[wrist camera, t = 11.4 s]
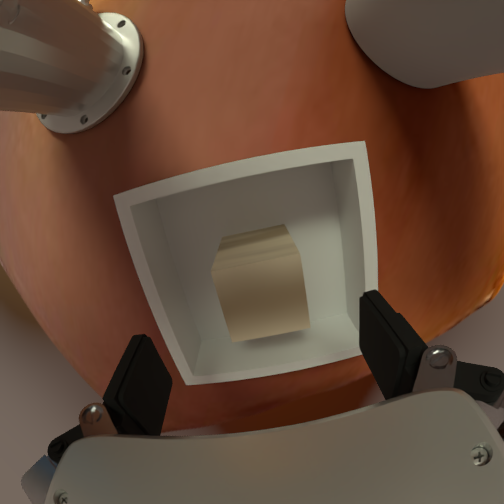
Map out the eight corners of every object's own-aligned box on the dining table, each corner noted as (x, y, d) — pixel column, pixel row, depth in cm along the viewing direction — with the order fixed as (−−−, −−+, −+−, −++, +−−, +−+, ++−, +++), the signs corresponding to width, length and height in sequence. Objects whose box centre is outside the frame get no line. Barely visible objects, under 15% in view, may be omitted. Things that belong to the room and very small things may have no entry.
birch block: (222, 236, 22) (210, 271, 15) (284, 224, 21) (300, 253, 15) (236, 292, 23) (232, 342, 17) (294, 280, 23) (310, 327, 16)
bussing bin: (145, 185, 21) (113, 195, 16) (335, 144, 20) (364, 140, 15) (196, 343, 26) (186, 385, 21) (353, 313, 25) (375, 350, 20)
